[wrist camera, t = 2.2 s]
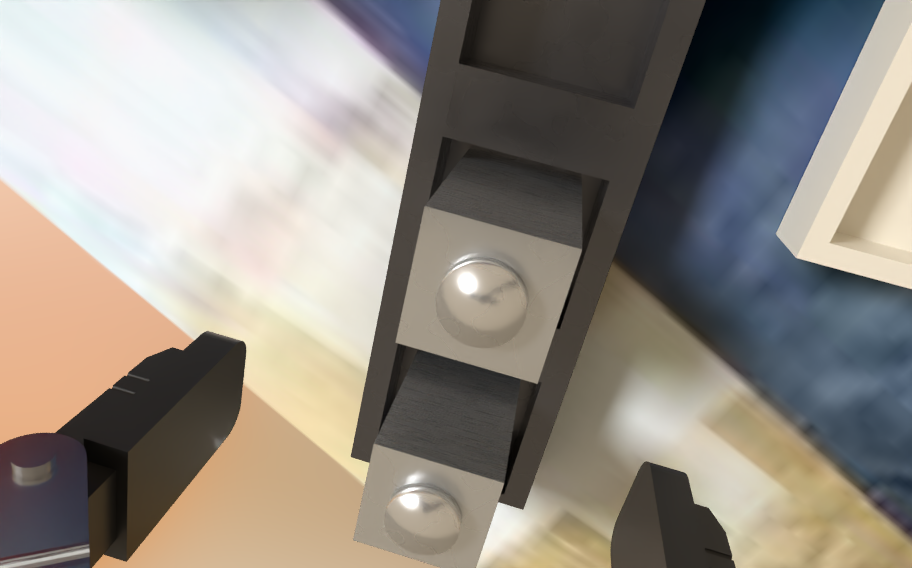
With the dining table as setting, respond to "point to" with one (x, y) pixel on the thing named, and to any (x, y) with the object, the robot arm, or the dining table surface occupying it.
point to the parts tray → (863, 165)
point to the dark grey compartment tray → (534, 161)
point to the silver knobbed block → (494, 265)
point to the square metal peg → (439, 463)
